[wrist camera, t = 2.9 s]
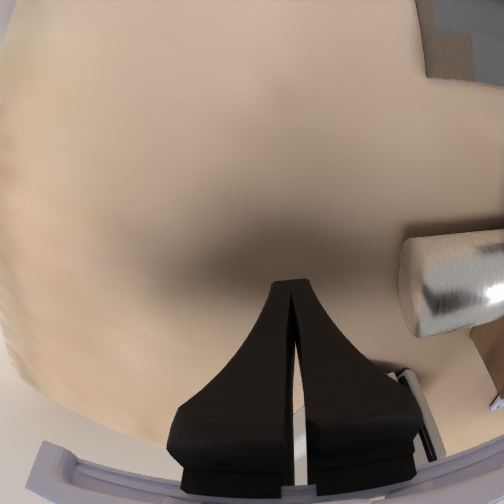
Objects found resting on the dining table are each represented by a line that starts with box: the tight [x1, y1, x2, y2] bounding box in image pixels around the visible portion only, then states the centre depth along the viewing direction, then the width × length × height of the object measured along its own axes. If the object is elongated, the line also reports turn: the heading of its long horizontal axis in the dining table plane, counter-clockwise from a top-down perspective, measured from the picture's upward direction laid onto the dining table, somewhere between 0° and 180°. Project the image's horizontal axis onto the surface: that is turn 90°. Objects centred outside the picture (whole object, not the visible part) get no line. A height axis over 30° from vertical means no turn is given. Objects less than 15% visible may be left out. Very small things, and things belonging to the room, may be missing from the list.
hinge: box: [293, 369, 446, 501], centre depth 17 cm, size 17×5×10 cm, turn 157°
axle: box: [398, 229, 504, 338], centre depth 10 cm, size 10×4×4 cm, turn 99°
